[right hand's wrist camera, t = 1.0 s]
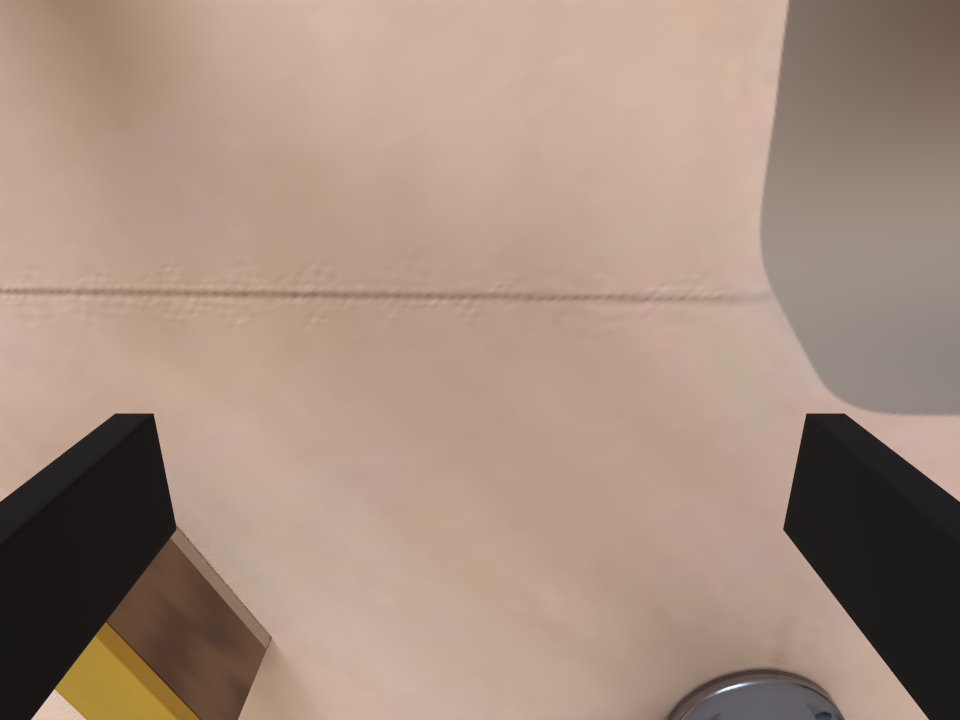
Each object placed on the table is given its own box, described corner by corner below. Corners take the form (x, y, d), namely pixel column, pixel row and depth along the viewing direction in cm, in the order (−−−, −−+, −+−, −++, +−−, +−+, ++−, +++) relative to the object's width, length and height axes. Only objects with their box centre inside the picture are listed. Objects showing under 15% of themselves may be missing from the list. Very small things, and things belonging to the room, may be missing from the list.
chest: (271, 637, 49) (227, 746, 41) (221, 660, 50) (168, 771, 42) (161, 508, 45) (86, 598, 36) (109, 535, 46) (23, 630, 37)
